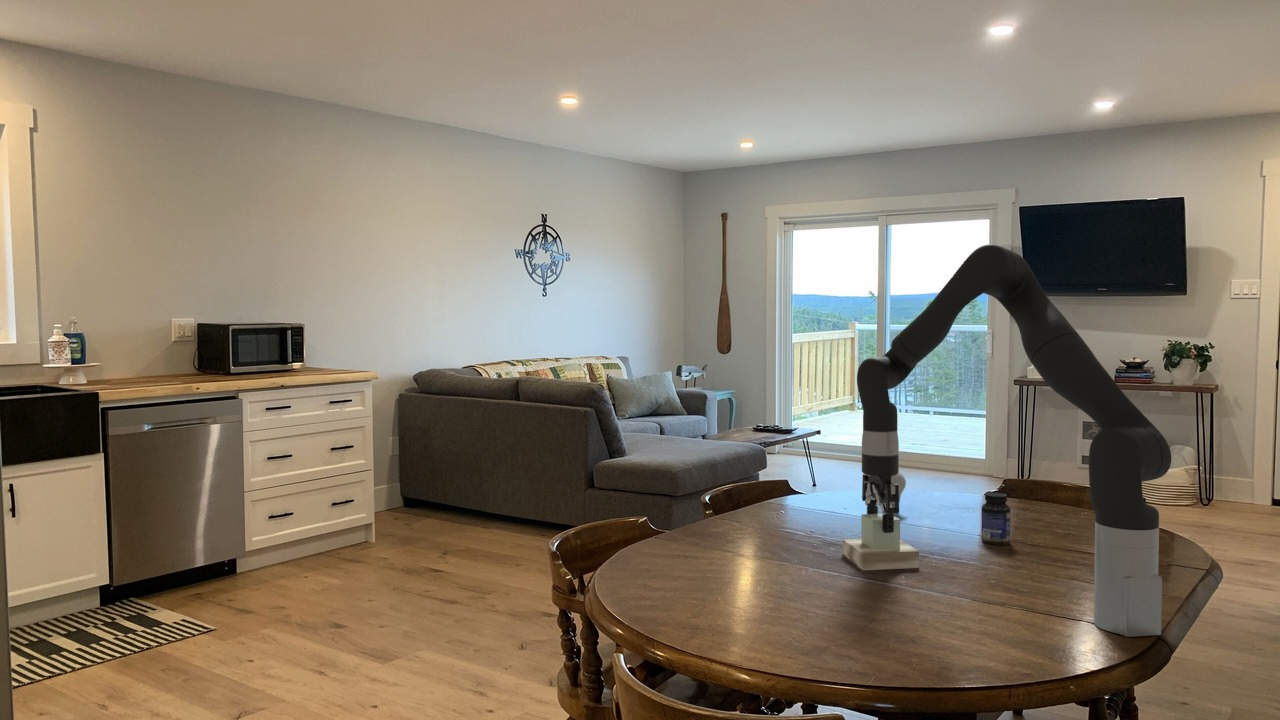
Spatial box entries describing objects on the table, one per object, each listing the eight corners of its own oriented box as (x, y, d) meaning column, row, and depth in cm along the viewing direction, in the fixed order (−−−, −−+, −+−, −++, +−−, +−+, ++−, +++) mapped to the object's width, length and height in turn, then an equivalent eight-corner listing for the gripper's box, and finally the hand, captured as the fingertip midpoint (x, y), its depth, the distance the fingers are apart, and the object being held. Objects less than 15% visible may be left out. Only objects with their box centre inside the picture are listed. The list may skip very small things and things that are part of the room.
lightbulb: (881, 514, 235) (881, 472, 234) (882, 509, 241) (882, 468, 240) (905, 515, 233) (905, 473, 233) (905, 510, 239) (905, 469, 238)
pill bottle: (1012, 546, 201) (1013, 497, 200) (983, 545, 202) (984, 496, 201) (1007, 539, 207) (1007, 492, 206) (979, 538, 208) (979, 491, 207)
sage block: (899, 547, 187) (900, 519, 187) (872, 549, 186) (872, 520, 186) (888, 540, 193) (888, 513, 193) (861, 542, 192) (861, 514, 192)
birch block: (918, 570, 184) (919, 551, 184) (862, 572, 183) (862, 553, 183) (895, 555, 196) (895, 537, 196) (842, 557, 195) (842, 539, 195)
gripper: (911, 456, 182) (911, 535, 183) (883, 446, 196) (883, 519, 197) (875, 457, 181) (875, 536, 182) (850, 447, 195) (850, 521, 196)
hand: (879, 527), depth 189 cm, fingers open, 8 cm apart
